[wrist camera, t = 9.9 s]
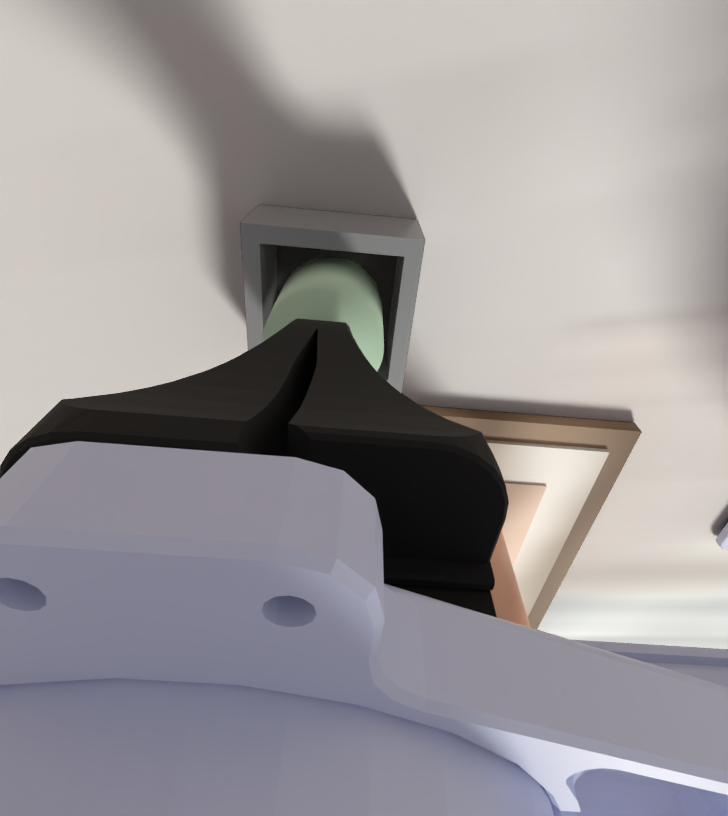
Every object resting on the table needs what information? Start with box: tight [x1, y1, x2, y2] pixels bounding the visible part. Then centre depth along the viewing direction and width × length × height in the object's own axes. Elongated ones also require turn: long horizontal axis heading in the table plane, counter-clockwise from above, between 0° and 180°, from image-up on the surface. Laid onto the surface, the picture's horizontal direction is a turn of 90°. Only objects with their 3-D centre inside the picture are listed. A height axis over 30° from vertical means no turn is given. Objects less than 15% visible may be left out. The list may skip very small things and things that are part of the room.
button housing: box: [240, 205, 425, 393], centre depth 15 cm, size 5×5×2 cm
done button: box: [263, 256, 384, 371], centre depth 13 cm, size 3×3×3 cm
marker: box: [490, 530, 531, 628], centre depth 18 cm, size 3×3×7 cm
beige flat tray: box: [422, 406, 641, 630], centre depth 24 cm, size 15×21×1 cm
